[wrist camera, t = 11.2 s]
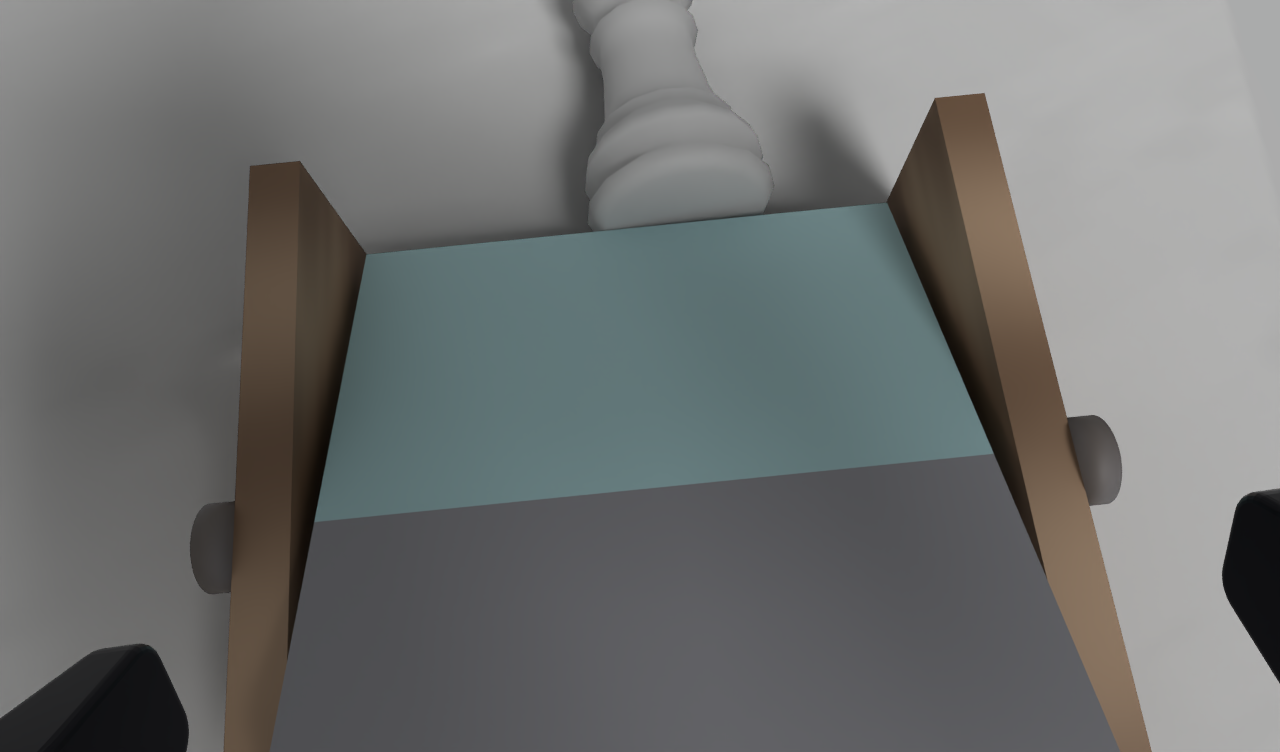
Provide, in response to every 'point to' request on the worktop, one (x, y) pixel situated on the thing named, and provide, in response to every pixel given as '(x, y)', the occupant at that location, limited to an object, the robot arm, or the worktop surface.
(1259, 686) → the worktop surface
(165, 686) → the robot arm
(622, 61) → the rook chess piece
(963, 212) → the walnut stand
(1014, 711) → the trapdoor flap
